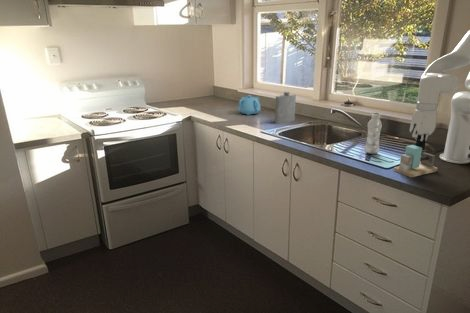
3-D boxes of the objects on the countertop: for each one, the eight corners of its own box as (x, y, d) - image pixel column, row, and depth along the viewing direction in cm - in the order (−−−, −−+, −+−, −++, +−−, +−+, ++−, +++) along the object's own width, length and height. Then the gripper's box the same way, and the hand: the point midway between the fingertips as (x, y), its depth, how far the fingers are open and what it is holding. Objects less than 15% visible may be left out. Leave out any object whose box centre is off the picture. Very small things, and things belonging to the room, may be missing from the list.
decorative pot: (235, 115, 264) (235, 96, 260) (241, 110, 279) (241, 92, 274) (257, 116, 260) (258, 97, 256) (262, 111, 275) (262, 93, 270)
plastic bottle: (373, 156, 176) (378, 115, 170) (361, 153, 182) (366, 113, 175) (381, 154, 180) (386, 113, 174) (369, 150, 185) (374, 111, 179)
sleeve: (409, 163, 159) (412, 144, 156) (419, 167, 155) (422, 147, 152) (403, 165, 157) (406, 146, 155) (412, 168, 153) (415, 149, 151)
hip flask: (292, 119, 250) (293, 90, 243) (296, 120, 247) (297, 91, 240) (274, 122, 242) (274, 92, 235) (277, 124, 239) (279, 93, 232)
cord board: (418, 164, 165) (421, 147, 163) (437, 171, 158) (440, 153, 155) (393, 170, 159) (395, 153, 156) (410, 177, 151) (413, 159, 149)
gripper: (430, 103, 156) (424, 144, 162) (405, 106, 149) (399, 149, 156) (447, 106, 149) (439, 149, 155) (421, 110, 143) (415, 154, 149)
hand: (419, 149), depth 155 cm, fingers closed
